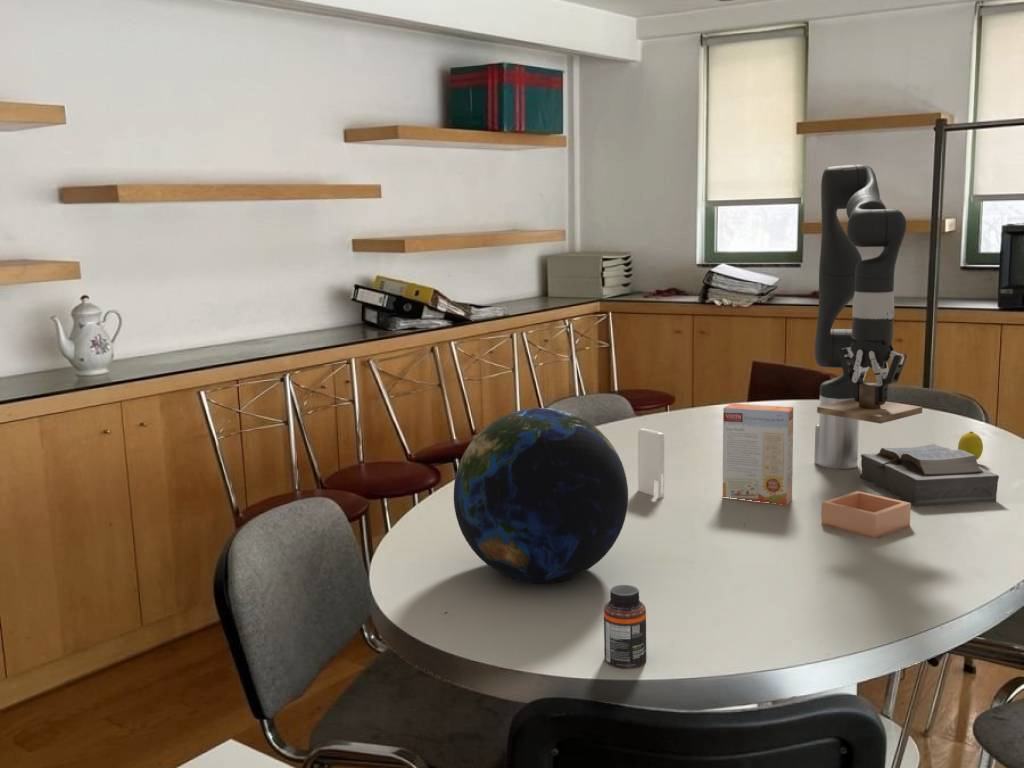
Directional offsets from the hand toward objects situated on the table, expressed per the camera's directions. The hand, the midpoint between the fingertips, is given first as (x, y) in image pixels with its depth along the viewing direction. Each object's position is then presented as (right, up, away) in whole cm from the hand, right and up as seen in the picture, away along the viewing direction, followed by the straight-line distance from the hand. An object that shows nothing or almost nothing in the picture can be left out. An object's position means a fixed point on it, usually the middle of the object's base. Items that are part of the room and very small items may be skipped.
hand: (869, 402), depth 204 cm
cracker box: (-16, -22, +24) cm, 36 cm away
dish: (+1, -25, +4) cm, 25 cm away
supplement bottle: (-53, -36, -55) cm, 85 cm away
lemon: (+42, -16, +51) cm, 68 cm away
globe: (-64, -30, -20) cm, 74 cm away
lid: (0, -2, 0) cm, 2 cm away
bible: (+22, -21, +29) cm, 42 cm away
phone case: (-39, -22, +28) cm, 53 cm away
